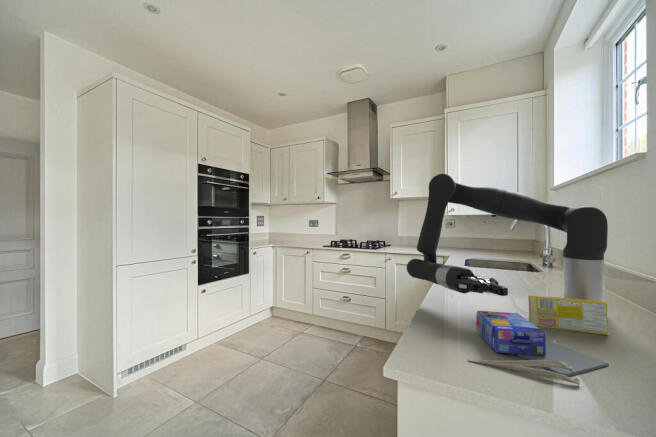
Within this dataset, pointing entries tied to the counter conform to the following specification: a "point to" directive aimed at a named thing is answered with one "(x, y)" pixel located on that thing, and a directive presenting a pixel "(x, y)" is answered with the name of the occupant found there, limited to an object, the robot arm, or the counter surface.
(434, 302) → the counter surface
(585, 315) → the candy box
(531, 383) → the counter surface
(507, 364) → the animal jaw bone
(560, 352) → the mat
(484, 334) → the ink cartridge box
